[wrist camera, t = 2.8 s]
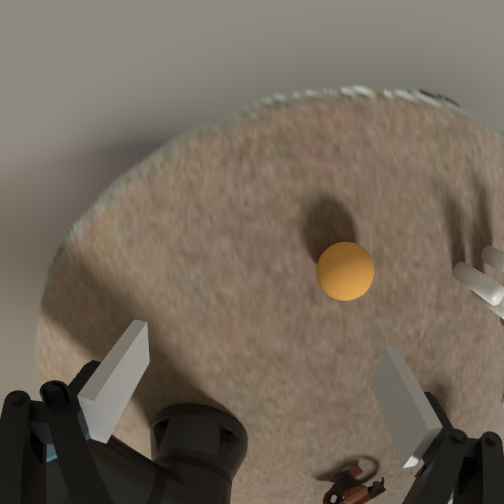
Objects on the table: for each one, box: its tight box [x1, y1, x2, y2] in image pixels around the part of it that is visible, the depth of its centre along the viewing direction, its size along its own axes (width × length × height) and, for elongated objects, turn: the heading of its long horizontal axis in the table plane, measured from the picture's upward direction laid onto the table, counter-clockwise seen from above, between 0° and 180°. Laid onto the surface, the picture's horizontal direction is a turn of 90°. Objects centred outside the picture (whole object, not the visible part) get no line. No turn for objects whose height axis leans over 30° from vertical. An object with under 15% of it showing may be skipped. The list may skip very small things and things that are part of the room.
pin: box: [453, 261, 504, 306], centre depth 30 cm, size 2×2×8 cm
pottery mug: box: [323, 465, 386, 504], centre depth 43 cm, size 12×10×8 cm
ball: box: [317, 242, 374, 301], centre depth 31 cm, size 6×6×6 cm
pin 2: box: [472, 290, 504, 319], centre depth 30 cm, size 2×2×8 cm
